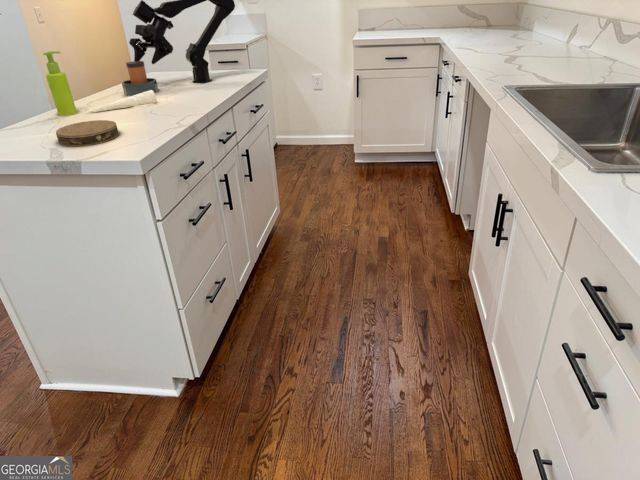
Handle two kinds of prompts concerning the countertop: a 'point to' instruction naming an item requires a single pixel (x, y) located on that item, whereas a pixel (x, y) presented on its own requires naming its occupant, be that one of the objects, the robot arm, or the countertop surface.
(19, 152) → the countertop surface
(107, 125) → the round wood slice
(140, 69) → the spice tin
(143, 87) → the bowl
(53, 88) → the soap dispenser
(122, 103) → the unicorn horn
